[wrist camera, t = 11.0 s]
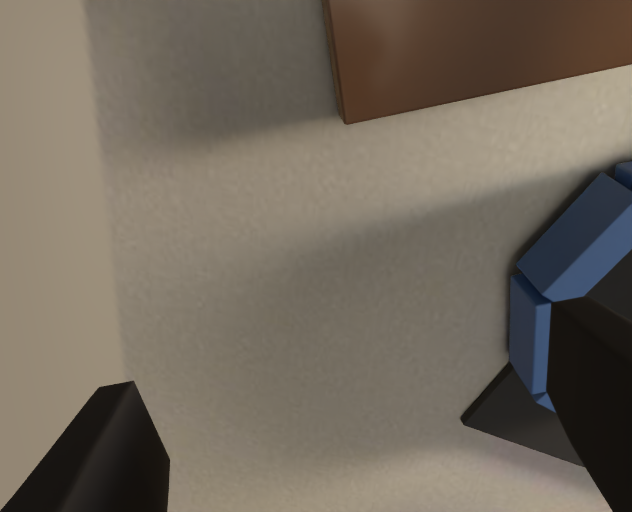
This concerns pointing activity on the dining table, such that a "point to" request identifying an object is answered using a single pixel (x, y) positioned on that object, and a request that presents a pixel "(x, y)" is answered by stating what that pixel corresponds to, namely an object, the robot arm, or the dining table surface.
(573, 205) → the ring
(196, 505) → the dining table surface
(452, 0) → the platform
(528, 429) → the mat
